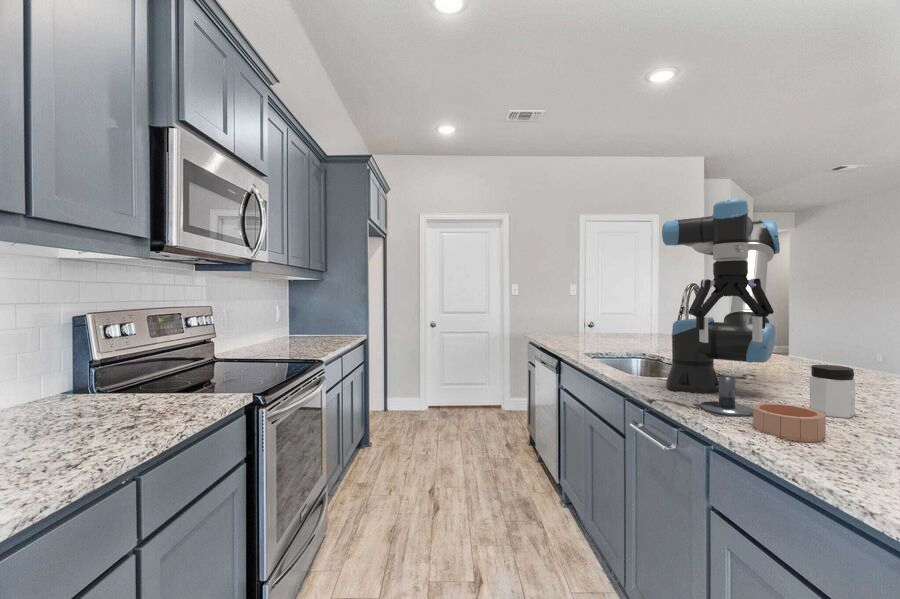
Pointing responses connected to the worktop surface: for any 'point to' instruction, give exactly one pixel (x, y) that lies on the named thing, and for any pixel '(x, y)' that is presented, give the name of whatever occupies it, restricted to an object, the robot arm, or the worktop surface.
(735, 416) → the mat
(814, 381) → the jar
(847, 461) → the worktop surface
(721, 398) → the lid
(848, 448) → the worktop surface
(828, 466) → the worktop surface
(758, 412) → the bowl
